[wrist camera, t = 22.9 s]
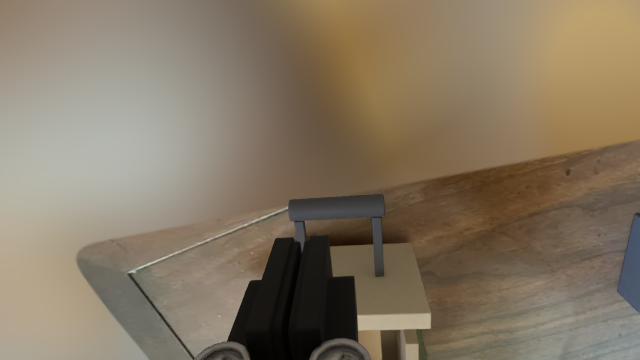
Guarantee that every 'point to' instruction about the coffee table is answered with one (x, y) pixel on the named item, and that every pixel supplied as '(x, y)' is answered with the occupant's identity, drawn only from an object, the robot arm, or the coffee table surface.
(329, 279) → the robot arm
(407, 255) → the drawer
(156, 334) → the coffee table surface
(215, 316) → the coffee table surface
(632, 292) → the stand
